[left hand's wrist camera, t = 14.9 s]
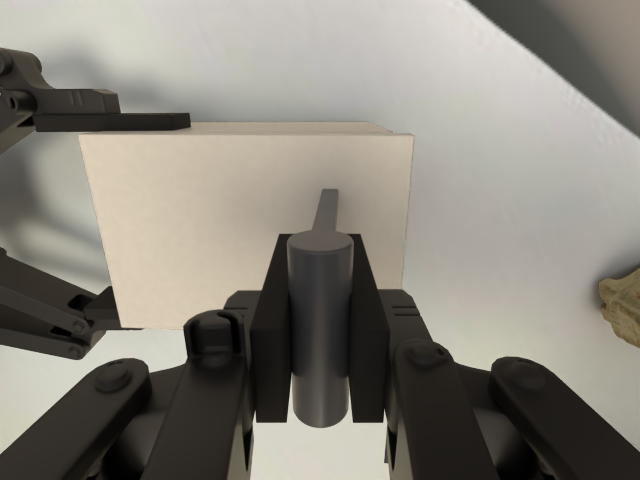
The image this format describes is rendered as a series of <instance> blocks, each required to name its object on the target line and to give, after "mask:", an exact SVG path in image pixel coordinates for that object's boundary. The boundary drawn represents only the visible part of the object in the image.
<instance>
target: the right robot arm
mask: <svg viewBox="0 0 640 480" xmlns="http://www.w3.org/2000/svg"><path fill="white" fill-rule="evenodd" d="M41 72H42V66H41V63H40V61H39V59H38V58H37V57H36V56H35V55H33V54H31V53H28V52H23V51H17V50H11V49H5V48H0V93H1V95H0V154H1V153H3V152H4V151H5V150H7V149H8V148H10V147H11V146H13V145H14V144H16V143H17V142H18V141H20V140H21V139H23V138H24V137H26V136H27V135H29V134H30V133H31V132H33V131H34V130H36V132H100V131H174V130H179V129H184V128H189V127H191V122H190V114H189V113H121V111H120V106H119V101H118V95H117V94H116V93H113V92H111V91H108V90H101V89H55V88H53V87H51V86H49V85H48V84H47V83H46V81H45V80H44V78H43V77H42V75H41ZM6 254H7V251H6V250H5V249H3V248H1V247H0V345H5V346H10V347H15V348H20V349H24V350H29V351H34V352H39V353H44V354H49V355H54V356H59V357H63V358H68V359H73V360H80V359H82V358H83V357H84V356H85V355H86V354H87V353H88V352H89V351H90V350H91V349H92V348H93V347H94V345H95V344H96V343H97V342H98V341H99V340H100V339H101V338H102V337H103V336H104V334H105V333H106V330H142V329H145V328H122V327H121V323H120V319H119V314H118V310H117V305H116V301H115V297H114V292H113V288H112V286H108V287H107V288H106V289H105V290H104V291H103V292H102V293H101V294H99V295H96V294H94V293H91V292H89V291H87V290H85V289H82V288H80V287H78V286H75V285H73V284H71V283H68V282H66V281H64V280H61V279H59V278H57V277H54V276H52V275H50V274H48V273H45V272H43V271H41V270H38V269H36V268H34V267H31V266H29V265H27V264H24V263H22V262H20V261H17V260H15V259H13V258H11V257H8V256H7V255H6ZM79 311H80V312H79Z"/></svg>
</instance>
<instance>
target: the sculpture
mask: <svg viewBox="0 0 640 480" xmlns="http://www.w3.org/2000/svg"><path fill="white" fill-rule="evenodd" d="M599 295H600V297H601V299H602V300H603V301H604V303H603V304H602V306H601V311H602V314H603V317H604V319H605V320H607V321H609V322H610V323H611V324H612V328H613V330H614V332H615V334H616V335H617V336H618V337H620V338H622V339H624V340H625V341H626V342H627V343H630V344H632V345H634V346H636V347H638V348H640V268H638V269H637V270H636V271H634V272H633V273H631V274H630V275H628V276H626V277H625V278H622V279H618V280H614V279H612V278H606V279H603V280H602V281H601V282H600V283H599Z"/></svg>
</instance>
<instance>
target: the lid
mask: <svg viewBox="0 0 640 480" xmlns="http://www.w3.org/2000/svg"><path fill="white" fill-rule="evenodd" d="M78 139H79V143H80V147H81V152H82V156H83V161H84V165H85V169H86V174H87V178H88V183H89V187H90V191H91V196H92V200H93V204H94V209H95V213H96V218H97V222H98V226H99V231H100V235H101V240H102V244H103V248H104V253H105V257H106V261H107V266H108V270H109V275H110V279H111V283H112V288H113V292H114V297H115V301H116V305H117V310H118V314H119V319H120V323H121V327H122V328H149V329H177V330H183V326H184V324H185V323H186V322H187V321H188V320H189V319H190V318H192V317H194V316H195V315H197V314H200V313H202V312H205V311H209V310H216V309H223V307H224V305H225V303H226V301H227V299H228V298H229V297H230V296H231V295H233V294H234V293H235V292H236V291H238V290H262V287H263V284H264V281H265V278H266V275H267V271H268V268H269V265H270V262H271V258H272V255H273V252H274V249H275V246H276V242H277V239H278V236H279V234H294V235H292V236H291V237H290V238H289V239H288V241H287V260H288V287H289V307H290V336H291V364H292V395H293V410H294V413H295V415H296V416H297V418H298V419H299V420H300V421H301V422H303V423H304V424H306V425H308V426H311V427H315V428H326V427H330V426H333V425H335V424H337V423H339V422H340V421H341V420H342V419H343V418H344V417H345V415H346V414H347V411H348V405H349V378H348V368H349V338H350V308H351V293H352V281H353V249H354V242H353V240H352V238H351V237H350V236H349V235H347V234H361V237H362V240H363V244H364V247H365V250H366V253H367V256H368V260H369V263H370V266H371V269H372V273H373V276H374V279H375V282H376V285H377V289H401V286H402V275H403V263H404V251H405V240H406V228H407V216H408V205H409V193H410V181H411V169H412V158H413V146H414V135H412V134H410V133H85V134H78Z"/></svg>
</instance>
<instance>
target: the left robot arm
mask: <svg viewBox="0 0 640 480" xmlns="http://www.w3.org/2000/svg"><path fill="white" fill-rule="evenodd" d="M292 235H294V234H279V236H278V239H277V242H276V246H275V249H274V252H273V255H272V258H271V262H270V265H269V268H268V271H267V275H266V278H265V281H264V284H263V287H262V290H238V291H236V292H235V293H234V294H233V295H231V296H230V297H229V298H228V299H227V301H226V303H225V305H224V307H223V309H216V310H209V311H205V312H202V313H200V314H197V315H195V316H194V317H192V318H190V319H189V320H188V321H187V322H186V323H185V324H184V326H183V330H184V337H185V343H186V350H187V356H188V358H187V360H186V363H185V364H183V365H180V366H177V367H174V368H170V369H166V370H161V371H157V372H152V373H149V369H148V366H147V365H146V364H145V362H144V361H142V360H138V359H135V358H124V359H118V360H114V361H110V362H108V363H106V364H103V365H101V366H99V367H97V368H95V369H94V370H93V371H91V372H90V373H88V374H87V375H86V376H85V377H84V378H83V379H81V380H80V381H79V382H78V383H77V384H76V385H75V386H74V387H73V388H72V389H71V390H70V391H68V392H67V393H66V394H65V395H64V396H63V397H62V398H61V399H60V400H59V401H58V402H57V403H55V404H54V405H53V406H52V407H51V408H50V409H49V410H48V411H47V412H46V413H45V414H44V415H42V416H41V417H40V418H39V419H38V420H37V421H36V422H35V423H34V424H33V425H32V426H31V427H29V428H28V429H27V430H26V431H25V432H24V433H23V434H22V435H21V436H20V437H19V438H18V439H16V440H15V441H14V442H13V443H12V444H11V445H10V446H9V447H8V448H7V449H6V450H5V451H3V452H2V453H1V454H0V480H250V475H251V464H252V454H253V443H254V436H253V424H252V423H253V418H254V413H255V411H256V423H287V413H288V404H289V394H290V384H291V375H292V364H291V336H290V307H289V287H288V260H287V241H288V239H289V238H290V237H291V236H292ZM347 235H349V236H350V237H351V238H352V240H353V242H354V249H353V281H352V293H351V308H350V338H349V368H348V378H349V388H350V397H351V407H352V417H353V423H383V419H384V408H385V413H386V418H387V422H388V424H387V436H386V448H385V459H384V463H389V474H390V480H640V452H639V451H638V450H637V449H636V448H635V447H634V446H632V445H631V444H630V443H629V442H628V441H627V440H626V439H625V438H624V437H623V436H622V435H620V434H619V433H618V432H617V431H616V430H615V429H614V428H613V427H612V426H611V425H610V424H608V423H607V422H606V421H605V420H604V419H603V418H602V417H601V416H600V415H599V414H598V413H596V412H595V411H594V410H593V409H592V408H591V407H590V406H589V405H588V404H587V403H586V402H584V401H583V400H582V399H581V398H580V397H579V396H578V395H577V394H576V393H575V392H574V391H572V390H571V389H570V388H569V387H568V386H567V385H566V384H565V383H564V382H563V381H562V380H560V379H559V378H558V377H557V376H556V375H555V374H554V373H553V372H551V371H550V370H548V369H547V368H546V367H544V366H543V365H540V364H538V363H536V362H534V361H532V360H528V359H524V358H520V357H503V358H499V359H497V360H496V361H495V362H494V363H493V364H492V367H491V372H490V371H486V370H481V369H476V368H472V367H468V366H464V365H461V364H458V363H456V362H454V360H453V357H452V356H451V354H450V353H449V351H448V350H447V349H446V348H444V347H443V346H441V345H440V344H438V343H436V342H433V340H432V338H431V336H430V334H429V332H428V330H427V327H426V325H425V323H424V321H423V319H422V317H421V316H420V313H419V311H418V309H417V306H416V304H415V302H414V300H413V298H412V297H411V296H410V295H409V294H407V293H406V292H405V291H404V290H402V289H377V285H376V282H375V279H374V276H373V273H372V269H371V266H370V263H369V260H368V256H367V253H366V250H365V247H364V244H363V240H362V237H361V234H347Z"/></svg>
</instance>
